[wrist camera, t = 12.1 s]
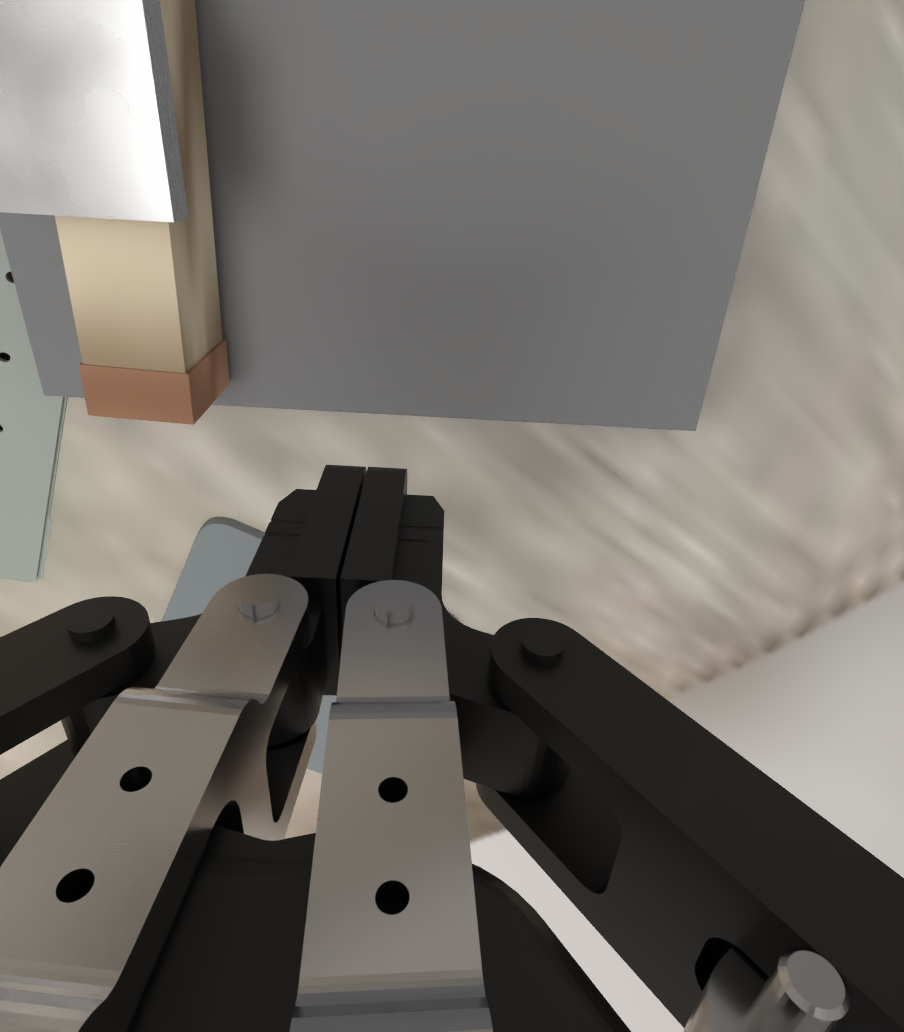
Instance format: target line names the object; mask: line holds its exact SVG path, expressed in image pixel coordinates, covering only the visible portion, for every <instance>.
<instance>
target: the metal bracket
mask: <svg viewBox="0 0 904 1032" xmlns="http://www.w3.org/2000/svg"><path fill="white" fill-rule="evenodd" d="M8 272H11V268H10V265H9V261H8V257H7V253H6V250H5V246H4V242H3V238H2V234H1V231H0V353H1V352H5V353H7V354H8V355H9V356H10V360H4V359H2V358H1V357H0V425H1V426H2V427H3V430H0V578H2V579H10V580H18V581H25V582H32V581H34V580H39V579H41V578H43V572H44V566H45V560H46V553H47V547H48V541H49V534H50V528H51V520H50V516H49V515H50V509H51V502H52V495H53V489H54V482H55V475H56V469H57V462H58V456H59V449H60V442H61V436H62V429H63V422H64V416H65V409H66V402H67V397H63V396H44V393H43V389H42V386H41V382H40V378H39V374H38V370H37V367H36V363H35V359H34V355H33V352H32V348H31V344H30V340H29V336H28V333H27V329H26V325H25V321H24V318H23V314H22V310H21V306H20V302H19V299H18V295H17V291H16V287H15V284H14V281H11V280H9V278H8V277H7V273H8Z"/></svg>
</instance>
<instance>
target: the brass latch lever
mask: <svg viewBox="0 0 904 1032" xmlns="http://www.w3.org/2000/svg"><path fill="white" fill-rule="evenodd" d="M160 5H161V13H162V21H163V28H164V36H165V43H166V51H167V58H168V66H169V73H170V81H171V88H172V96H173V104H174V111H175V119H176V126H177V134H178V141H179V149H180V156H181V164H182V171H183V179H184V186H185V194H186V202H187V209H188V218H185V219H182V220H180V221H177V222H158V221H141V220H124V219H107V218H90V217H72V216H55V220H56V225H57V231H58V236H59V241H60V246H61V252H62V257H63V262H64V267H65V273H66V278H67V283H68V288H69V294H70V299H71V304H72V310H73V315H74V320H75V325H76V331H77V336H78V341H79V346H80V352H81V357H82V363H80V364H79V369H80V374H81V379H82V384H83V390H84V395H85V400H86V405H87V410H88V415H93V416H104V417H115V418H127V419H138V420H149V421H161V422H172V423H183V424H195V422H196V421H197V420H198V419H199V418H200V417H201V416H202V415H203V413H204V412H205V411H206V410H207V409H208V408H209V407H210V405H211V404H212V403H213V402H214V401H215V400H216V399H217V398H218V396H219V395H220V394H221V393H222V392H223V391H224V390H225V389H226V387H227V386H228V385H229V373H228V360H227V348H226V340H225V339H222V328H221V315H220V303H219V291H218V279H217V266H216V254H215V242H214V230H213V217H212V205H211V193H210V180H209V168H208V156H207V144H206V131H205V119H204V107H203V95H202V82H201V70H200V58H199V46H198V33H197V21H196V9H195V0H160Z"/></svg>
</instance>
